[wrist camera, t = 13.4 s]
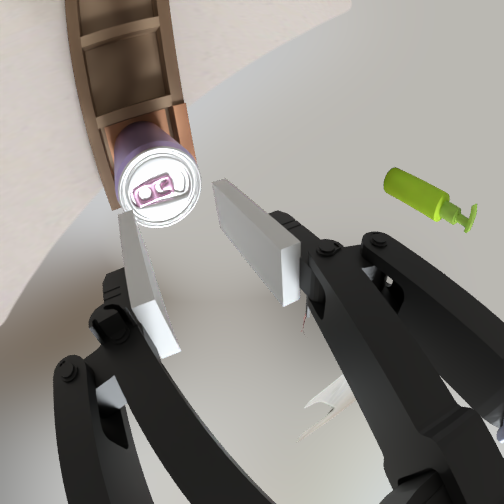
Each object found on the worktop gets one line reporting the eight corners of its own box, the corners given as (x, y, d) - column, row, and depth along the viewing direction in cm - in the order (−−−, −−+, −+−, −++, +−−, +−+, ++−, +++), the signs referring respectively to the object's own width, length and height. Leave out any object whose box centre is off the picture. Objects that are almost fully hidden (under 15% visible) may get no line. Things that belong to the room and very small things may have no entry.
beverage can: (107, 132, 26) (101, 165, 15) (158, 113, 27) (193, 131, 16) (123, 179, 29) (134, 243, 18) (171, 160, 31) (213, 211, 20)
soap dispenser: (402, 161, 51) (482, 202, 36) (397, 191, 55) (471, 235, 40) (386, 163, 49) (472, 208, 34) (381, 195, 53) (460, 244, 38)
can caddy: (111, 197, 31) (112, 212, 27) (68, -15, 13) (63, -29, 10) (190, 170, 34) (200, 181, 30) (157, -37, 16) (164, -53, 13)
